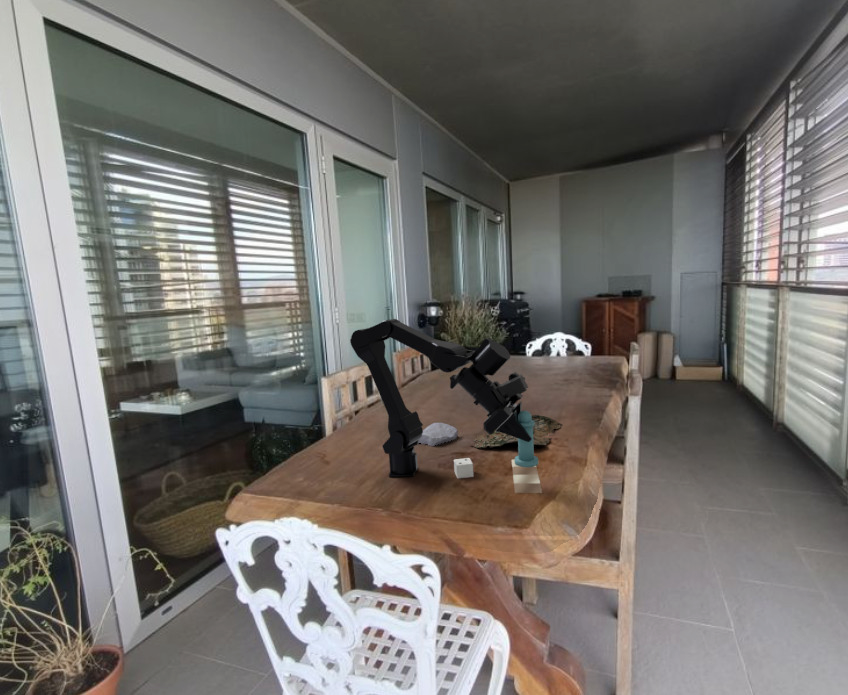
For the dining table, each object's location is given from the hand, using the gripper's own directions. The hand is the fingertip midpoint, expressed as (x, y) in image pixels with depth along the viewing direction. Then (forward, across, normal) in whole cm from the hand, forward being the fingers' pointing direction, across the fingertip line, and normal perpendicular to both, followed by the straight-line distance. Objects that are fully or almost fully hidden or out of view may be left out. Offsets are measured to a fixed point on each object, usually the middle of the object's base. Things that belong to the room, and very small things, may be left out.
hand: (531, 437), depth 104 cm
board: (+7, +7, +11) cm, 15 cm away
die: (-4, +4, +21) cm, 22 cm away
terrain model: (+1, +38, +18) cm, 42 cm away
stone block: (-14, +30, +33) cm, 46 cm away
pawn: (+3, 0, +5) cm, 6 cm away
